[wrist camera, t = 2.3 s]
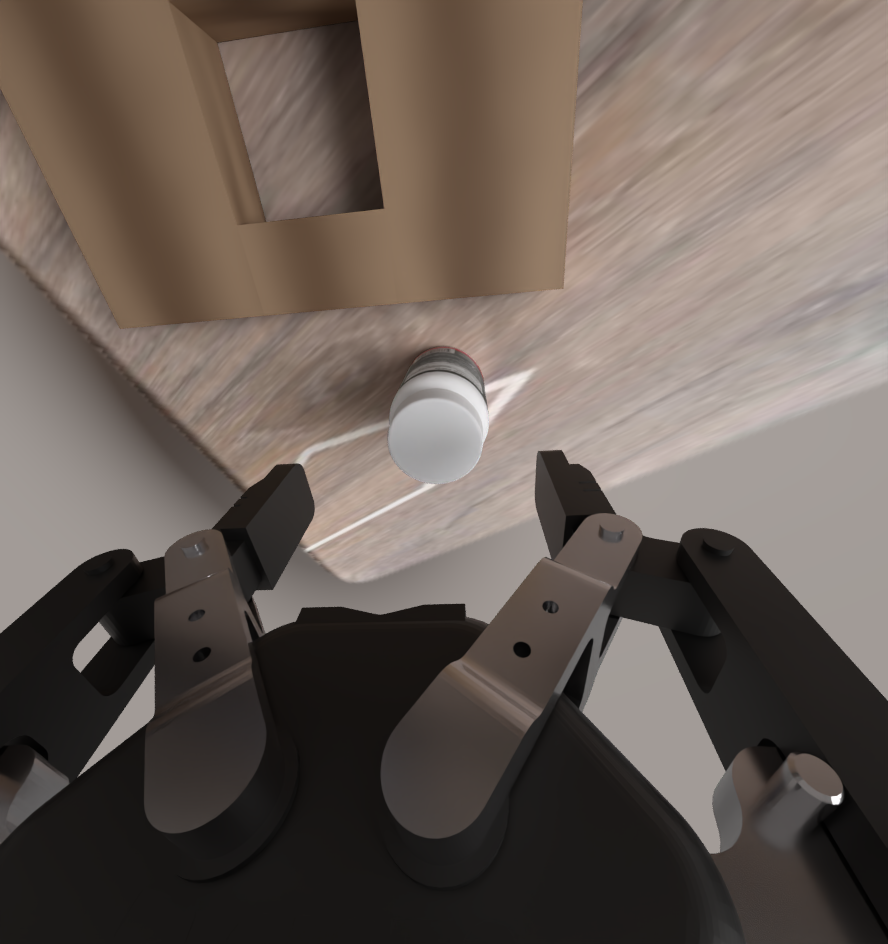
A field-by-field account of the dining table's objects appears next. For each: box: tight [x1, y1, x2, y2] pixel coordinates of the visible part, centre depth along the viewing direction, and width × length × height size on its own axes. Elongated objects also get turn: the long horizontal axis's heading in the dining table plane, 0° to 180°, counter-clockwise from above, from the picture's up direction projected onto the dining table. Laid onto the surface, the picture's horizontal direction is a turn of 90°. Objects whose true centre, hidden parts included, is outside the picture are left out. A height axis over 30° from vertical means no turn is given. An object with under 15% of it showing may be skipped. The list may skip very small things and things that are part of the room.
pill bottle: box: [387, 346, 489, 484], centre depth 19 cm, size 5×5×8 cm
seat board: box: [0, 0, 583, 329], centre depth 16 cm, size 22×14×3 cm, turn 95°
